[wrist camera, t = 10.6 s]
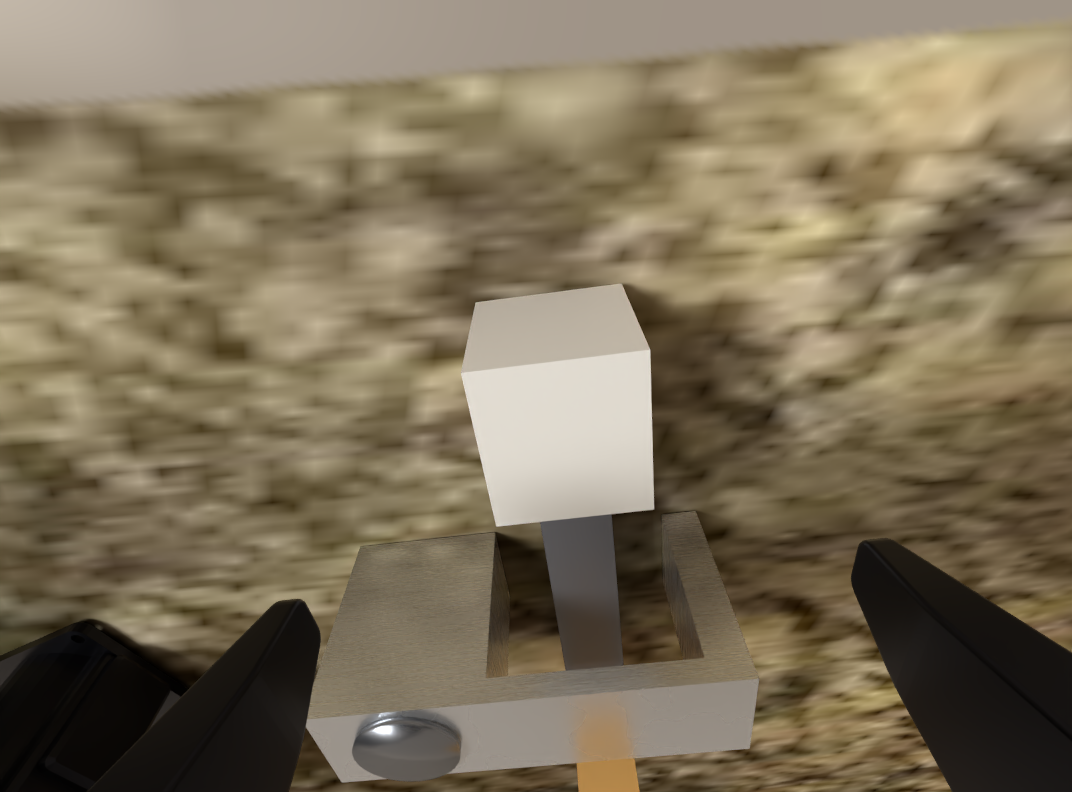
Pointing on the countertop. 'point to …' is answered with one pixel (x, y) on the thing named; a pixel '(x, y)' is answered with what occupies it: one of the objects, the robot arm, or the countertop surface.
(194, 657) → the countertop surface
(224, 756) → the robot arm
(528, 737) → the housing
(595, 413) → the multicoloured u-shaped piece
